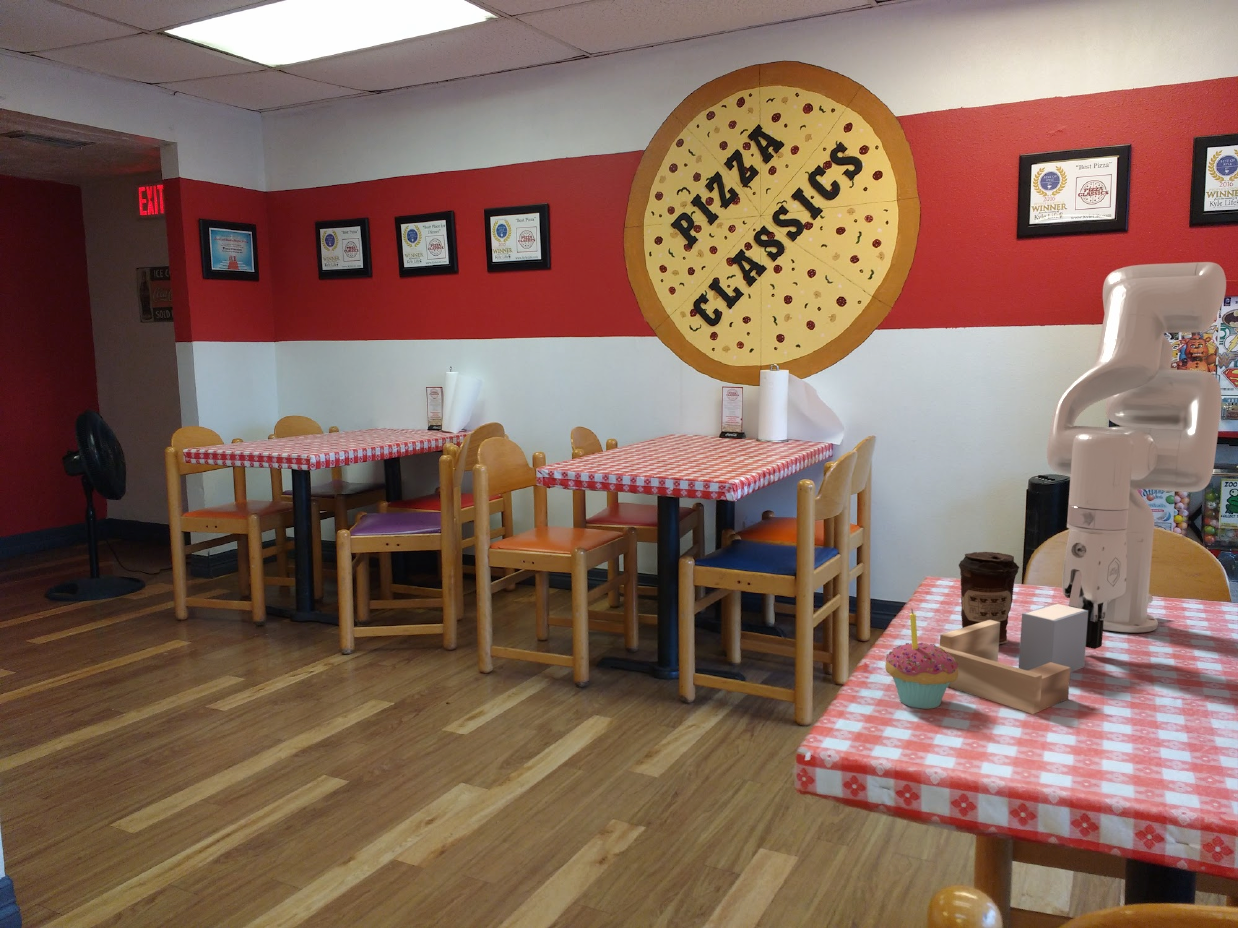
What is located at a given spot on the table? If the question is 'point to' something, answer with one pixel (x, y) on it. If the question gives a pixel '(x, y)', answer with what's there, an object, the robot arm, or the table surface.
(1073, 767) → the table surface
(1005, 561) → the coffee cup
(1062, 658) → the grey rectangular block
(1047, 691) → the rack
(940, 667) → the cupcake
